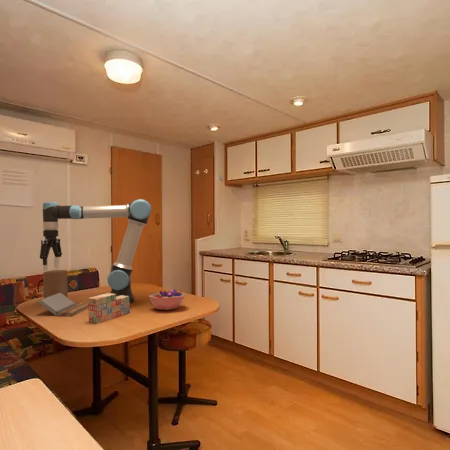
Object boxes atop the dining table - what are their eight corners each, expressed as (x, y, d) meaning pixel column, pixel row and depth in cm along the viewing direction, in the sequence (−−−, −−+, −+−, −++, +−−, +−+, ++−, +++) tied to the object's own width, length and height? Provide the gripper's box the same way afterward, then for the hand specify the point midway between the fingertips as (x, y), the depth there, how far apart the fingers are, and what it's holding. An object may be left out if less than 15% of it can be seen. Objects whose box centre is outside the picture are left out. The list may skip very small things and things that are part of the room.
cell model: (154, 305, 194) (153, 286, 194) (187, 305, 193) (187, 286, 192) (145, 313, 177) (145, 292, 177) (182, 313, 176) (181, 292, 176)
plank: (74, 307, 192) (76, 304, 192) (56, 315, 174) (58, 312, 174) (58, 295, 193) (60, 292, 193) (38, 302, 175) (40, 299, 175)
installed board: (91, 307, 192) (91, 303, 192) (72, 316, 172) (72, 312, 172) (78, 307, 193) (78, 303, 193) (57, 316, 173) (57, 312, 173)
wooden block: (57, 305, 198) (56, 272, 197) (43, 304, 200) (42, 272, 199) (68, 301, 207) (67, 269, 207) (54, 300, 209) (54, 269, 209)
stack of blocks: (121, 311, 181) (121, 289, 181) (130, 313, 178) (129, 290, 178) (88, 322, 163) (88, 297, 163) (96, 324, 159) (96, 298, 159)
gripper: (56, 229, 195) (56, 267, 195) (31, 230, 173) (32, 272, 173) (68, 229, 194) (68, 267, 194) (44, 229, 172) (45, 272, 172)
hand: (51, 269), depth 184 cm, fingers open, 9 cm apart
